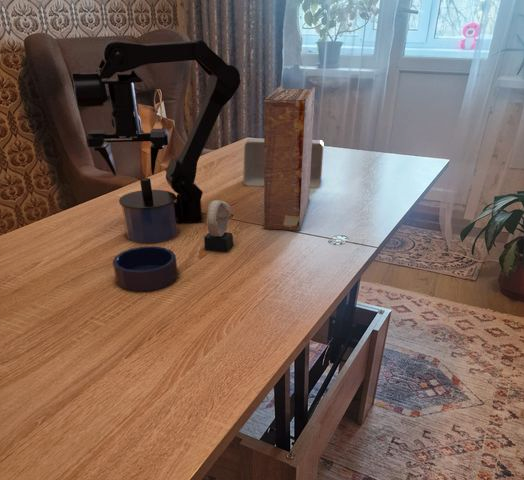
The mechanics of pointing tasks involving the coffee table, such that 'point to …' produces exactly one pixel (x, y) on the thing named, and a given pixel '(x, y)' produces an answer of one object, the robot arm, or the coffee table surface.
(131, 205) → the lid
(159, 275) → the pan
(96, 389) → the coffee table surface
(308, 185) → the book
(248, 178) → the white rounded tray
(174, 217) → the pot
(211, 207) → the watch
